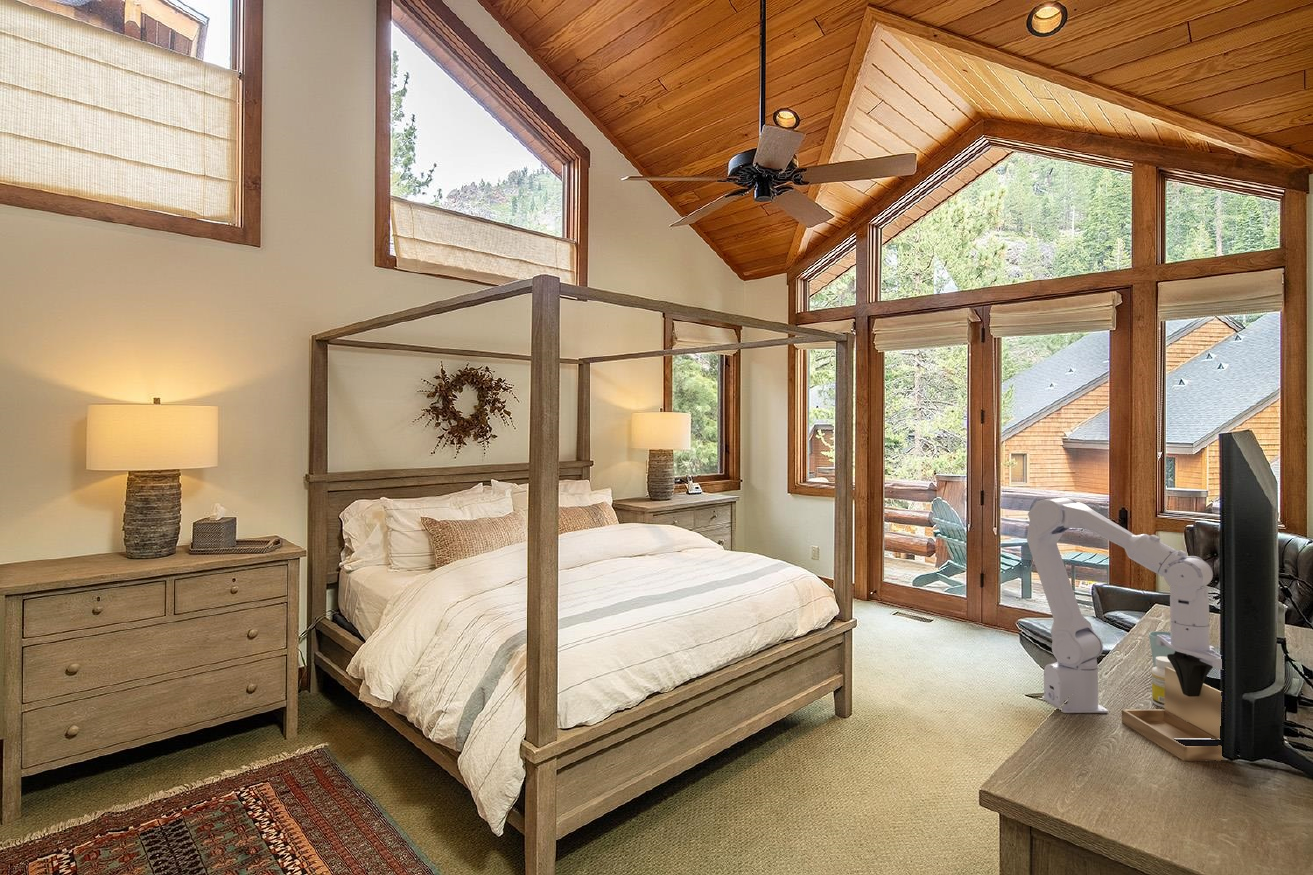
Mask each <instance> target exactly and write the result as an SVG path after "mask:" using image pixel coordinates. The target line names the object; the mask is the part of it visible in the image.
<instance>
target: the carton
mask: <svg viewBox="0 0 1313 875" xmlns="http://www.w3.org/2000/svg"><path fill="white" fill-rule="evenodd" d="M1121 723H1123V725H1126V726H1127V727H1129V728H1130V729H1132V730H1134V731H1135V732H1137V733H1139V735H1142V736H1143V737H1145V738H1146V739H1148V740H1150V741H1151V742H1153V743H1155V744H1156V745H1157V746H1159V747H1161V748H1162V749H1164V750H1165V751H1166V752H1169V753H1170V754H1172V755H1173V756H1175V757H1176V758H1179V759H1180V760H1182V761H1183V762H1206V761H1205V760H1208V761H1207V762H1211V761H1210V760H1216V761H1215V762H1222V761H1221V760H1224V758H1223V756H1222V746H1221V745H1218V746H1185V745H1183V744H1181V743H1179V742H1178V741H1176V740H1174V738H1211V739H1215V740H1219V738H1217V737H1215V736H1213V735H1212V734H1210V733H1208V732H1206V731H1204V730H1202V729H1201V728H1199V727H1197V726H1195V725H1193V724H1191V723H1190V722H1188V721H1186V720H1184V719H1182V718H1180V717H1179V716H1177V715H1175V714H1173V713H1171V712H1169V711H1168V710H1166V709H1164V708H1163V709H1159V708H1157V709H1155V708H1153V709H1152V708H1151V709H1149V708H1148V709H1143V708H1142V709H1139V708H1138V709H1137V708H1136V709H1121Z"/></svg>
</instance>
